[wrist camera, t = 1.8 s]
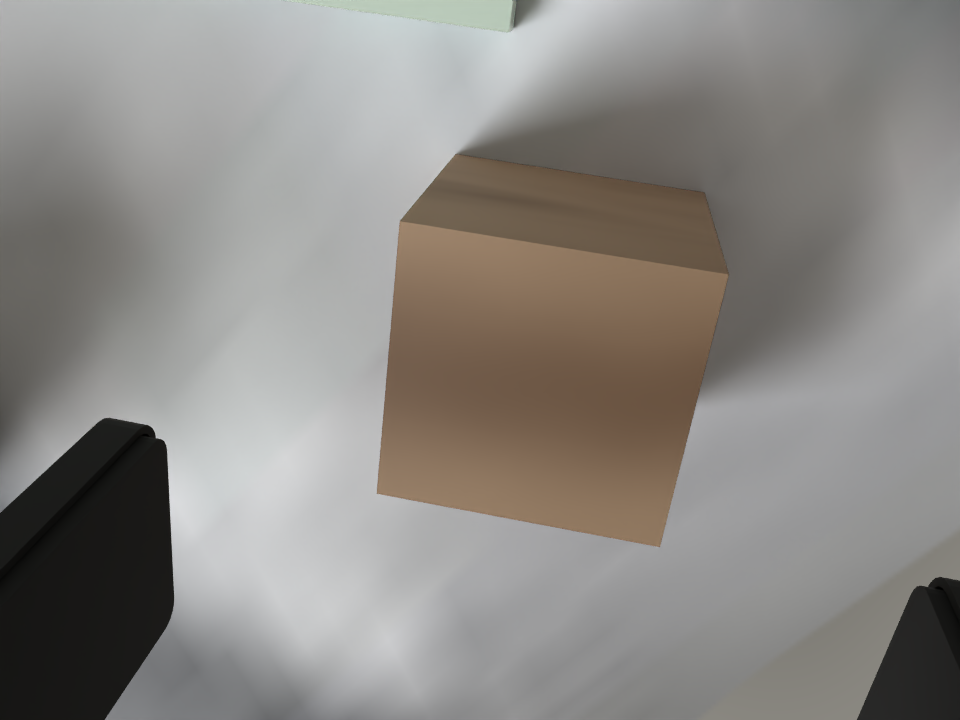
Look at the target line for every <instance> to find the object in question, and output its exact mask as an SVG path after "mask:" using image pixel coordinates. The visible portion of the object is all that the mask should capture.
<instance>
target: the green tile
mask: <svg viewBox="0 0 960 720" xmlns="http://www.w3.org/2000/svg"><path fill="white" fill-rule="evenodd" d="M284 1H291V2H298V3H305V4H312V5H319V6H326V7H333V8H340V9H347V10H354V11H361V12H368V13H375V14H382V15H389V16H396V17H403V18H410V19H417V20H424V21H431V22H438V23H445V24H452V25H458V26H465V27H472V28H479V29H486V30H493V31H500V32H507V33H509V32H510V31H512V30H513V26H514V18H515V10H516V2H517V0H284Z"/></svg>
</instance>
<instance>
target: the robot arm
mask: <svg viewBox="0 0 960 720" xmlns="http://www.w3.org/2000/svg"><path fill="white" fill-rule="evenodd" d="M173 606H174V586H173V565H172V545H171V524H170V504H169V483H168V462H167V448H166V444H165V442H164V441H163V440H161V439H157V438H156V436H155V432H154V430H153V428H152V427H150V426H149V425H144V424H139V423H133V422H128V421H123V420H118V419H112V418H104V419H102V420H101V421H99V422H98V423H97V424H96V425H95V426H94V427H93V428H92V429H91V430H89V431H88V432H87V433H86V434H85V435H84V436H83V437H82V438H81V439H80V440H79V441H78V442H76V443H75V444H74V445H73V446H72V447H71V448H70V449H69V450H68V451H67V452H66V453H65V454H64V455H62V456H61V457H60V458H59V459H58V460H57V461H56V462H55V463H54V464H53V465H52V466H51V467H49V468H48V469H47V470H46V471H45V472H44V473H43V474H42V475H41V476H40V477H39V478H38V479H36V480H35V481H34V482H33V483H32V484H31V485H30V486H29V487H28V488H27V489H26V490H25V491H24V492H22V493H21V494H20V495H19V496H18V497H17V498H16V499H15V500H14V501H13V502H12V503H11V504H9V505H8V506H7V507H6V508H5V509H4V510H3V511H2V512H1V513H0V720H105V718H106V717H107V715H108V714H109V712H110V711H111V709H112V708H113V706H114V705H115V703H116V702H117V700H118V699H119V697H120V696H121V694H122V693H123V691H124V690H125V688H126V687H127V685H128V684H129V682H130V681H131V680H132V678H133V677H134V675H135V674H136V672H137V671H138V669H139V668H140V666H141V665H142V663H143V662H144V660H145V659H146V657H147V656H148V654H149V653H150V651H151V650H152V648H153V647H154V645H155V644H156V642H157V641H158V639H159V638H160V636H161V635H162V633H163V632H164V630H165V629H166V627H167V625H168V623H169V620H170V618H171V615H172V611H173ZM857 720H960V581H958V580H953V579H948V578H942V577H939V578H935V579H934V580H933V581H932V582H931V583H930V584H929V586H928V587H925V586H917V587H916V588H915V589H914V590H913V592H912V594H911V596H910V598H909V600H908V603H907V605H906V607H905V610H904V612H903V614H902V616H901V619H900V621H899V623H898V626H897V628H896V630H895V633H894V635H893V638H892V640H891V642H890V644H889V647H888V649H887V651H886V654H885V656H884V658H883V661H882V663H881V665H880V668H879V670H878V672H877V675H876V677H875V679H874V681H873V684H872V686H871V688H870V691H869V693H868V696H867V698H866V700H865V703H864V705H863V707H862V710H861V712H860V714H859V716H858V719H857Z"/></svg>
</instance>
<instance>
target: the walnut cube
mask: <svg viewBox="0 0 960 720" xmlns="http://www.w3.org/2000/svg"><path fill="white" fill-rule="evenodd" d="M728 276H729V273H728V270H727V267H726V263H725V260H724V257H723V253H722V250H721V247H720V243H719V240H718V237H717V233H716V230H715V227H714V223H713V220H712V217H711V213H710V210H709V206H708V203H707V200H706V196H705V193H703V192H697V191H690V190H684V189H677V188H671V187H665V186H658V185H652V184H645V183H639V182H632V181H626V180H619V179H613V178H607V177H600V176H594V175H587V174H581V173H574V172H568V171H561V170H555V169H549V168H542V167H536V166H529V165H523V164H516V163H510V162H503V161H497V160H491V159H484V158H478V157H471V156H465V155H458V154H455V156H454V157H453V158H452V159H451V160H450V162H449V163H448V164H447V165H446V166H445V168H444V169H443V170H442V171H441V172H440V174H439V175H438V176H437V177H436V178H435V180H434V181H433V182H432V183H431V184H430V186H429V187H428V188H427V189H426V190H425V192H424V193H423V194H422V195H421V196H420V198H419V199H418V200H417V201H416V202H415V204H414V205H413V206H412V207H411V208H410V210H409V211H408V212H407V213H406V214H405V216H404V217H403V218H402V219H401V220H400V225H399V237H398V249H397V261H396V272H395V284H394V296H393V308H392V320H391V332H390V343H389V355H388V367H387V379H386V391H385V402H384V414H383V426H382V438H381V450H380V462H379V473H378V485H377V494H382V495H387V496H392V497H398V498H403V499H408V500H414V501H419V502H424V503H430V504H435V505H440V506H445V507H451V508H456V509H461V510H467V511H472V512H477V513H482V514H488V515H493V516H498V517H504V518H509V519H514V520H519V521H525V522H530V523H535V524H541V525H546V526H551V527H556V528H562V529H567V530H572V531H578V532H583V533H588V534H594V535H599V536H604V537H609V538H615V539H620V540H625V541H631V542H636V543H641V544H646V545H652V546H657V547H660V544H661V540H662V536H663V532H664V528H665V525H666V521H667V517H668V513H669V509H670V505H671V501H672V497H673V493H674V489H675V485H676V481H677V477H678V473H679V469H680V465H681V461H682V458H683V454H684V450H685V446H686V442H687V438H688V434H689V430H690V426H691V422H692V418H693V414H694V410H695V406H696V402H697V398H698V394H699V391H700V387H701V383H702V379H703V375H704V371H705V367H706V363H707V359H708V355H709V351H710V347H711V343H712V339H713V335H714V331H715V327H716V323H717V320H718V316H719V312H720V308H721V304H722V300H723V296H724V292H725V288H726V284H727V280H728Z"/></svg>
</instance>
